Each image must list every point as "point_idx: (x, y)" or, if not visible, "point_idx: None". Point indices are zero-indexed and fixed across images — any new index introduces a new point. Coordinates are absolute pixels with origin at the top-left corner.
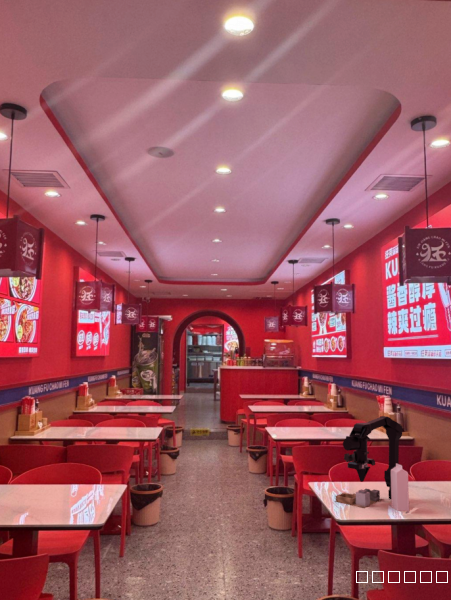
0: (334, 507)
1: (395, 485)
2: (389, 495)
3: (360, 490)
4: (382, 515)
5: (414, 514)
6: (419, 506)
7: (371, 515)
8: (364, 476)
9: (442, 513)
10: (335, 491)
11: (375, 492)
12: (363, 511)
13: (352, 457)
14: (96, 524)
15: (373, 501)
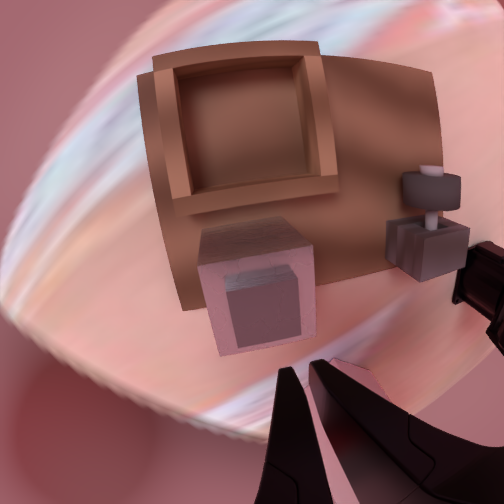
0: (76, 140)
1: (346, 492)
2: (482, 255)
3: (249, 301)
4: (206, 387)
5: None
6: (436, 361)
7: (154, 363)
8: (336, 455)
9: None
10: None
11: (419, 281)
12: (171, 305)
13: None
14: None
15: (377, 250)
